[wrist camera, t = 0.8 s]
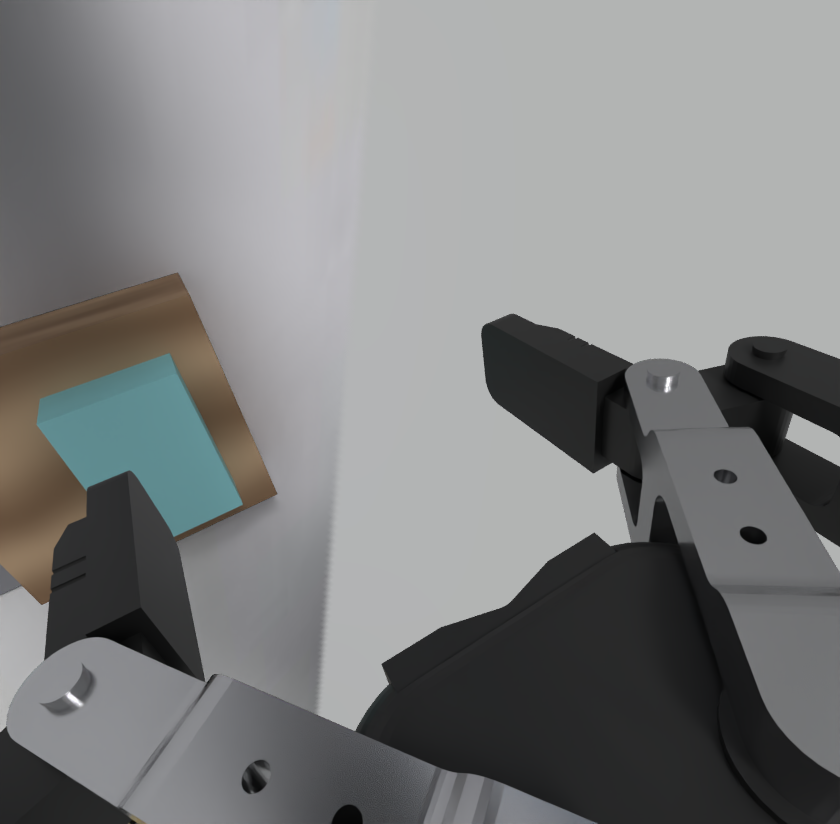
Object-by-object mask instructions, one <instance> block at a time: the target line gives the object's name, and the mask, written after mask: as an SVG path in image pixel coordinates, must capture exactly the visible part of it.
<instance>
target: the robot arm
mask: <svg viewBox="0 0 840 824" xmlns="http://www.w3.org/2000/svg"><path fill="white" fill-rule="evenodd" d="M481 337H482V347H483V357H484V367H485V377H486V384H487V387H488V390H489V392H490V394H491V396H492V398H493V399H494V400H495V401H496V402H497V403H498V404H499V405H500V406H502V407H503V408H504V409H506V410H507V411H508V412H510V413H512V414H513V415H514V416H515V417H517V418H518V419H519V420H521V421H522V422H524V423H525V424H526V425H528V426H529V427H530V428H532V429H533V430H534V431H536V432H537V433H539V434H540V435H541V436H543V437H544V438H545V439H547V440H548V441H550V442H551V443H552V444H554V445H555V446H557V447H558V448H559V449H560V450H562V451H563V452H565V453H566V454H567V455H569V456H570V457H571V458H573V459H574V460H576V461H577V462H578V463H580V464H581V465H583V466H584V467H585V468H587V469H588V470H589V471H591V472H592V473H595V472H597V471H598V470H600V469H602V468H604V467H605V466H607V465H609V464H611V463H614V464H615V465H617V482H618V486H619V491H620V495H621V500H622V504H623V508H624V512H625V517H626V521H627V525H628V530H629V534H630V538H631V543H625V544H619V545H614V546H609V545H608V544H607V543H606V542H605V541H603V540H602V539H601V538H600V537H599V536H598V535H596V534H595V533H593V534H591V535H590V536H588V537H587V538H585V539H583V540H582V541H580V542H579V543H577V544H575V545H574V546H572V547H570V548H569V549H567V550H565V551H564V552H562V553H561V554H559V555H557V556H556V557H554V558H553V559H551V560H549V561H548V562H547V563H546V564H545V565H544V566H543V567H542V568H541V569H540V571H539V572H538V573H537V574H536V575H535V576H534V577H533V578H532V579H531V580H530V582H529V583H528V584H527V585H526V586H525V587H524V588H523V589H522V590H521V591H520V592H519V594H518V595H517V596H516V597H515V598H514V599H513V600H512V601H511V602H510V603H509V604H508V605H506V606H504V607H502V608H500V609H496V610H494V611H490V612H487V613H484V614H481V615H478V616H475V617H472V618H469V619H466V620H463V621H459V622H457V623H453V624H450V625H447V626H444V627H441V628H439V629H437V630H436V631H434V632H433V633H431V634H429V635H428V636H426V637H425V638H423V639H421V640H420V641H418V642H416V643H415V644H413V645H412V646H410V647H408V648H407V649H405V650H403V651H402V652H400V653H399V654H397V655H395V656H394V657H392V658H391V659H389V660H387V661H386V662H384V663H382V667H383V669H384V672H385V675H386V677H387V680H388V682H389V685H388V686H387V687H386V688H385V689H384V690H383V691H382V692H381V693H380V694H379V696H378V697H377V698H376V699H375V701H374V702H373V703H372V705H371V706H370V708H369V709H368V710H367V712H366V713H365V715H364V717H363V718H362V720H361V722H360V723H359V725H358V727H357V729H356V731H353V730H351V729H348V728H346V727H344V726H341V725H339V724H337V723H334V722H332V721H330V720H327V719H325V718H323V717H321V716H318V715H316V714H314V713H311V712H309V711H307V710H304V709H302V708H300V707H298V706H295V705H293V704H291V703H288V702H286V701H284V700H281V699H279V698H277V697H274V696H272V695H270V694H268V693H265V692H263V691H261V690H258V689H256V688H254V687H251V686H249V685H247V684H244V683H242V682H240V681H237V680H235V679H233V678H230V677H228V676H224V675H220V674H214V675H212V676H211V678H210V679H209V681H208V682H205V678H204V673H203V668H202V663H201V658H200V653H199V648H198V643H197V638H196V633H195V628H194V623H193V618H192V613H191V608H190V603H189V598H188V593H187V588H186V583H185V578H184V572H183V567H182V562H181V557H180V553H179V549H178V546H177V544H176V541H175V539H174V536H173V534H172V532H171V530H170V528H169V527H168V525H167V523H166V522H165V520H164V519H163V517H162V516H161V514H160V512H159V511H158V509H157V508H156V506H155V505H154V503H153V501H152V500H151V498H150V497H149V495H148V494H147V492H146V491H145V489H144V487H143V486H142V484H141V483H140V481H139V480H138V478H137V477H136V475H135V474H134V473H133V472H132V471H130V470H128V471H126V472H124V473H121V474H119V475H116V476H114V477H111V478H109V479H107V480H104V481H102V482H99V483H97V484H94V485H92V486H90V487H88V488H87V505H86V517H85V518H82V519H80V520H78V521H75V522H73V523H71V524H68V525H67V527H66V529H65V530H64V532H63V534H62V536H61V537H60V539H59V541H58V542H57V544H56V546H55V548H54V551H53V563H52V572H53V575H51V587H50V589H51V591H52V593H51V594H50V599H49V610H48V622H47V634H46V646H45V658H44V661H43V662H42V663H41V664H40V665H39V666H38V667H37V668H36V669H35V670H34V671H33V672H32V673H31V674H30V675H29V676H28V677H27V678H26V680H25V681H24V682H23V684H22V685H21V686H20V688H19V689H18V691H17V693H16V694H15V696H14V698H13V700H12V702H11V704H10V707H9V710H8V714H7V722H6V725H7V727H6V728H4V729H3V730H2V731H1V732H0V824H840V572H839V570H838V569H837V567H836V565H835V564H834V562H833V561H832V559H831V557H830V555H829V554H828V552H827V550H826V549H825V547H824V546H823V544H822V542H821V540H820V539H819V537H818V535H817V534H816V532H817V533H819V534H820V535H822V536H823V537H825V538H827V539H828V540H830V541H831V542H833V543H834V544H836V545H838V546H839V547H840V467H839V466H837V465H835V464H833V463H832V462H830V461H828V460H826V459H824V458H822V457H820V456H818V455H816V454H814V453H812V452H810V451H809V450H807V449H805V448H803V447H801V446H799V445H797V444H795V443H793V442H791V441H789V440H788V439H786V438H785V437H786V434H787V431H788V428H789V424H790V421H791V418H792V415H793V414H796V415H798V416H800V417H802V418H804V419H806V420H808V421H810V422H812V423H814V424H817V425H819V426H821V427H823V428H825V429H827V430H829V431H831V432H833V433H835V434H837V435H838V436H839V437H840V359H838V358H835V357H833V356H830V355H827V354H824V353H822V352H819V351H816V350H814V349H811V348H808V347H806V346H803V345H800V344H797V343H795V342H792V341H789V340H785V339H781V338H776V337H767V336H757V337H747V338H743V339H740V340H737V341H735V342H733V343H732V344H731V345H730V347H729V349H728V354H727V358H726V363H725V365H722V366H717V367H713V368H708V369H704V370H699V371H697V370H696V369H695V368H694V367H692V366H690V365H688V364H686V363H683V362H680V361H676V360H670V359H648V360H644V361H640V362H637V363H635V364H632V363H630V362H628V361H626V360H624V359H622V358H619V357H617V356H615V355H613V354H611V353H609V352H607V351H605V350H603V349H600V348H598V347H596V346H594V345H592V344H591V345H589V344H588V342H586V341H583V340H582V339H579V338H577V339H575V336H573V335H571V334H568V333H567V332H565V331H563V330H560V329H558V328H553V327H547V326H542V325H536V324H534V323H532V322H530V321H528V320H526V319H524V318H522V317H520V316H518V315H515V314H509V315H507V316H504V317H502V318H500V319H497V320H495V321H492V322H490V323H488V324H485V325H484V326H483V328H482V333H481ZM815 531H816V532H815Z"/></svg>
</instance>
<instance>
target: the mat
mask: <svg viewBox="0 0 840 824" xmlns="http://www.w3.org/2000/svg"><path fill="white" fill-rule="evenodd" d="M19 586H21V584H20V583H19V582H18V581H17V580H16V579H15V578H14V577H13V576H12V575H11V574H10V573H9V572H8V571H7V570H6V569H5V568H4V567H3V566H2V565H1V564H0V595H1V594H3V593H6V592H8V591H10V590H12V589H14V588H17V587H19Z"/></svg>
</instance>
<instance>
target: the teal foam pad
mask: <svg viewBox="0 0 840 824" xmlns="http://www.w3.org/2000/svg"><path fill="white" fill-rule="evenodd" d="M37 426H38V427H39V429H40V430H41V431H42V433H43V434H44V435H45V437H46V438H47V439H48V441H49V442H50V443H51V445H52V446H53V447H54V449H55V450H56V451H57V453H58V454H59V455H60V457H61V458H62V459H63V461H64V462H65V463H66V465H67V466H68V467H69V469H70V470H71V471H72V473H73V474H74V475H75V477H76V478H77V479H78V481H79V482H80V483H81V485H82V486H83V487H84V489H85V490H86V491H87V488H88V487H90V486H92V485H94V484H97V483H99V482H102V481H104V480H107V479H109V478H111V477H114V476H116V475H119V474H121V473H124V472H126V471H128V470H130V471H132V472H133V473H134V474H135V475H136V477H137V478H138V480H139V481H140V483H141V484H142V486H143V487H144V489H145V491H146V492H147V494H148V495H149V497H150V498H151V500H152V501H153V503H154V505H155V506H156V508H157V509H158V511H159V512H160V514H161V516H162V517H163V519H164V520H165V522H166V523H167V525H168V527H169V528H170V530H171V532H172V534H173V536H174V537H175V536H177V535H179V534H181V533H183V532H185V531H188V530H190V529H192V528H194V527H196V526H198V525H200V524H203V523H205V522H207V521H209V520H211V519H213V518H215V517H218V516H220V515H222V514H224V513H226V512H228V511H230V510H233V509H235V508H237V507H239V506H241V505H243V503H242V500H241V498H240V495H239V493H238V490H237V488H236V485H235V483H234V480H233V478H232V476H231V474H230V472H229V470H228V468H227V466H226V464H225V462H224V460H223V458H222V456H221V454H220V452H219V450H218V448H217V446H216V444H215V442H214V440H213V438H212V436H211V434H210V432H209V430H208V428H207V426H206V424H205V422H204V420H203V418H202V416H201V414H200V412H199V410H198V408H197V406H196V404H195V402H194V400H193V398H192V396H191V394H190V392H189V390H188V388H187V386H186V384H185V382H184V380H183V378H182V376H181V374H180V372H179V370H178V368H177V366H176V364H175V362H174V360H173V358H172V356H171V354H170V353H168V354H165V355H162V356H160V357H157V358H154V359H151V360H148V361H146V362H143V363H140V364H137V365H134V366H131V367H129V368H126V369H123V370H120V371H117V372H114V373H112V374H109V375H106V376H103V377H100V378H98V379H95V380H92V381H89V382H86V383H83V384H81V385H78V386H75V387H72V388H69V389H66V390H64V391H61V392H58V393H55V394H52V395H49V396H47V397H44V398H41V399H40V402H39V409H38V417H37Z"/></svg>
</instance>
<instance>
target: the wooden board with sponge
mask: <svg viewBox="0 0 840 824" xmlns="http://www.w3.org/2000/svg"><path fill="white" fill-rule="evenodd" d="M168 353H170V354H171V356H172V358H173V360H174V362H175V364H176V366H177V368H178V370H179V372H180V374H181V376H182V378H183V380H184V382H185V384H186V386H187V388H188V390H189V392H190V394H191V396H192V398H193V400H194V402H195V404H196V406H197V408H198V410H199V412H200V414H201V416H202V418H203V420H204V422H205V424H206V426H207V428H208V430H209V432H210V434H211V436H212V438H213V440H214V442H215V444H216V446H217V448H218V450H219V452H220V454H221V456H222V458H223V460H224V462H225V464H226V466H227V468H228V470H229V472H230V474H231V476H232V478H233V480H234V483H235V485H236V488H237V490H238V493H239V495H240V498H241V500H242V503H243V505H241V506H239V507H237V508H235V509H233V510H230V511H228V512H226V513H224V514H222V515H220V516H218V517H215V518H213V519H211V520H209V521H207V522H205V523H203V524H200V525H198V526H196V527H194V528H192V529H190V530H188V531H185V532H183V533H181V534H179V535H177V536H175V537H174V539H175V541H176V542H177V541H179V540H181V539H183V538H185V537H187V536H189V535H192V534H194V533H196V532H198V531H200V530H202V529H204V528H206V527H209V526H211V525H213V524H215V523H217V522H219V521H221V520H223V519H226V518H228V517H230V516H232V515H234V514H236V513H238V512H240V511H243V510H245V509H247V508H249V507H251V506H253V505H255V504H257V503H260V502H262V501H264V500H266V499H268V498H270V497H272V496H275V495H277V492H276V490H275V488H274V485H273V483H272V481H271V478H270V476H269V474H268V472H267V469H266V467H265V465H264V463H263V460H262V458H261V456H260V454H259V451H258V449H257V447H256V445H255V442H254V440H253V438H252V435H251V433H250V431H249V429H248V426H247V424H246V422H245V420H244V417H243V415H242V413H241V411H240V408H239V406H238V404H237V402H236V399H235V397H234V395H233V392H232V390H231V388H230V386H229V383H228V381H227V379H226V377H225V374H224V372H223V370H222V368H221V365H220V363H219V361H218V358H217V356H216V354H215V352H214V349H213V347H212V345H211V343H210V340H209V338H208V336H207V334H206V331H205V329H204V327H203V325H202V322H201V320H200V318H199V315H198V313H197V311H196V309H195V306H194V304H193V302H192V300H191V297H190V295H189V293H188V291H187V289H186V287H185V285H184V284H183V282H182V280H181V278H180V276H179V274H178V273H175V274H172V275H169V276H165V277H162V278H159V279H156V280H152V281H149V282H146V283H143V284H139V285H136V286H133V287H130V288H126V289H123V290H120V291H116V292H113V293H110V294H107V295H103V296H100V297H97V298H94V299H90V300H87V301H84V302H81V303H77V304H74V305H71V306H68V307H64V308H61V309H58V310H55V311H51V312H48V313H45V314H42V315H38V316H35V317H32V318H29V319H25V320H22V321H19V322H15V323H12V324H9V325H6V326H2V327H0V564H1V565H2V566H3V567H4V568H5V569H6V570H7V571H8V572H9V573H10V574H11V575H12V576H13V577H14V578H15V579H16V580H17V581H18V582H19V583H20V584H21V585H22V586H23V587H24V588H25V589H26V590H27V591H28V592H29V593H30V594H31V595H32V596H33V597H34V598H35V599H36V600H37V601H38V602H39V603H40V604H41V605H43V604H45V603H47V602H49V599H50V594H51V593H52V591H51V589H50V587H51V575H53V572H52V563H53V551H54V548H55V546H56V544H57V542H58V541H59V539H60V537H61V536H62V534H63V532H64V530H65V529H66V527H67V525H68V524H71V523H73V522H75V521H78V520H80V519H82V518H85V517H86V505H87V491H86V490H85V489H84V487H83V486H82V485H81V483H80V482H79V481H78V479H77V478H76V477H75V475H74V474H73V473H72V471H71V470H70V469H69V467H68V466H67V465H66V463H65V462H64V461H63V459H62V458H61V457H60V455H59V454H58V453H57V451H56V450H55V449H54V447H53V446H52V445H51V443H50V442H49V441H48V439H47V438H46V437H45V435H44V434H43V433H42V431H41V430H40V429H39V427H38V426H37V417H38V409H39V402H40V399H41V398H44V397H47V396H49V395H52V394H55V393H58V392H61V391H64V390H66V389H69V388H72V387H75V386H78V385H81V384H83V383H86V382H89V381H92V380H95V379H98V378H100V377H103V376H106V375H109V374H112V373H114V372H117V371H120V370H123V369H126V368H129V367H131V366H134V365H137V364H140V363H143V362H146V361H148V360H151V359H154V358H157V357H160V356H162V355H165V354H168Z"/></svg>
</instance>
